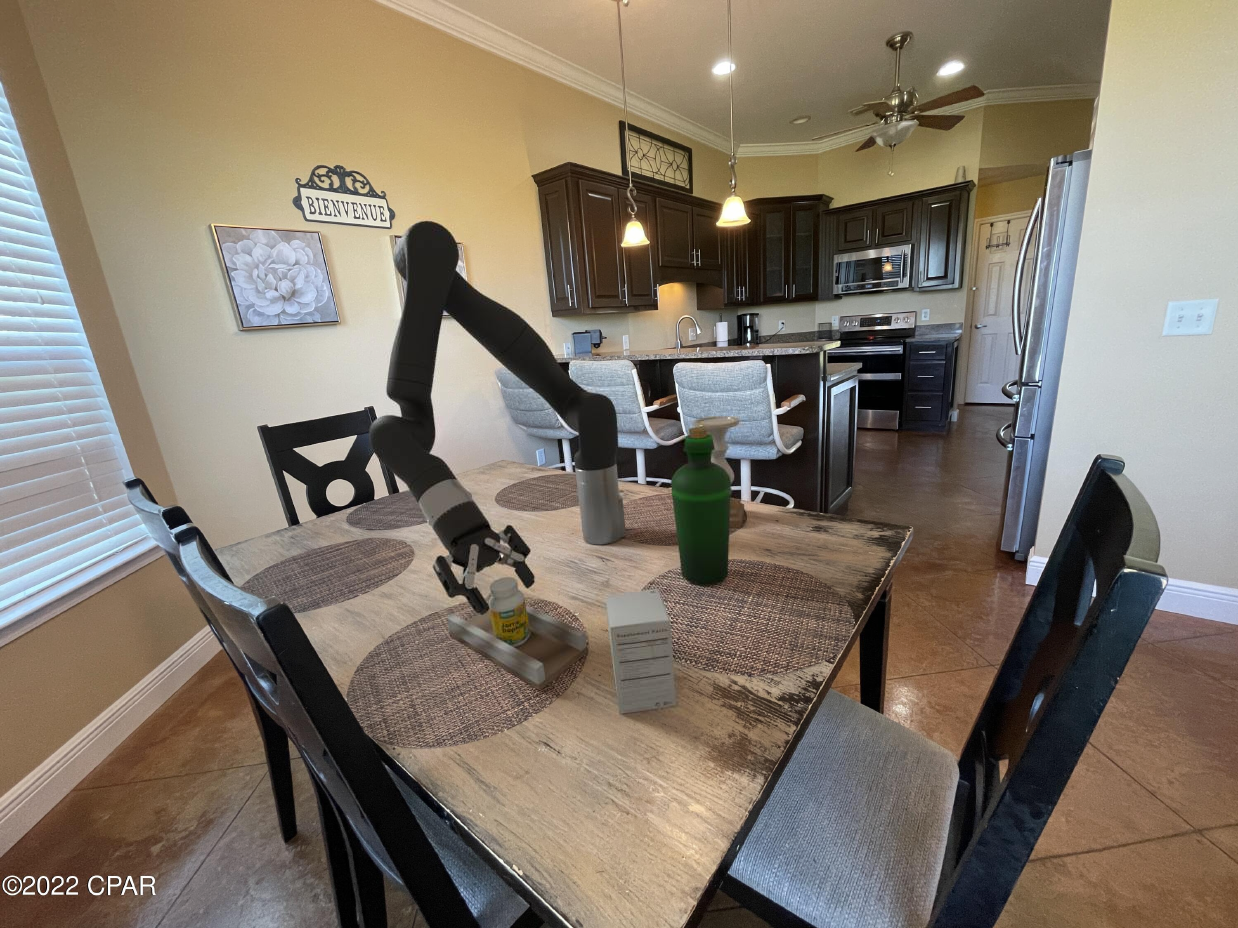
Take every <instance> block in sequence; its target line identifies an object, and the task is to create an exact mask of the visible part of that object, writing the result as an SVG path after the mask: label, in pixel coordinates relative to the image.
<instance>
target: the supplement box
mask: <svg viewBox="0 0 1238 928" xmlns="http://www.w3.org/2000/svg"><path fill="white" fill-rule="evenodd" d="M605 606H606V618H607V625H608V633H609V634H608V636H609V642H610V643H609V644H610V652H611V653H610V654H611V661H612V668H613V676H614V682H615V691H616V695H617V704H618V705H617V706H618V713H619V714H622V715H624V714H632V713H638V712H643V711H644V712H645V711H651V710H659V709H665V708H672V707H675V706H676V705H677V698H676V697H677V696H676V685H675V671H674V670H675V669H674V667H675V666H674V656H673V653H674V652H673V642H672V641H673V640H672V626H671V619H670V616H669V613H668V610H667V607H666V603H665V601H664V599H663V596H662V593H661V589H660V588H655V589H653V588H651V589H644V590H638V591H631V592H628V591H627V592H621V593H615V594H607V595H606V596H605Z"/></svg>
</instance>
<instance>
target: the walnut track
mask: <svg viewBox="0 0 1238 928" xmlns="http://www.w3.org/2000/svg"><path fill="white" fill-rule="evenodd" d="M491 597H492V595H491V592H489V593H488V599H489V600H490V598H491ZM526 610H527V616H528V621H529V627H530V636H529V638H528V639H527V641H526V642H525V643H523V644H522V645H520V646H517V647H512V646H510V645H508V644H506V643H505V642H503V641H501V640H499V639H497V638H496V637H495V635H494V630H493V625H492V619H491V614H490V609H489V610H488V611H487V613H485V614H484V615H481V614H480V613H476V615H474V616H473V617H471V618H469V619H468V620H467V619H466V620H465V619H463V618H462V617H459V616H457V615H455V614H454V613H452V614H450V615H448V616H446V623H447V627H448V632H449V637H451V638H452V639H454V640H456V641H457V642H458V643H461V644H462V645H464V646H466V648H469V649H470V650H472V651H474V652H475V653H477V654H479V655H480V656H481V657H483V658H485V659H487V660H488V661H490V662H492V663H493V664H495V665H497V666H498V667H500V668H501V669H503V670H505V671H507V672H508V673H510V674H511V675H513V676H515V677H516V678H518V679H520V680H521V681H523V682H525V683H526V684H528V685H529V686H531V687H532V688H535V689H536V690H538V691H539V692H540V691H542V690H543V689H544V688H545V687H547V686H548V685H549V684H550V683H551V682H553V681H554V680H555V679H556V678H558V677H559V676H560V675H562V673H564V672H565V671H567V669H569V668H571V666H573V665H574V664H575V663H576V662H578V661H579V660H580V659H581V658H582V657H584V656H585V655H586V654H588V647H587V637H586V632H585V631H584V630H581V629H579V628H577V627H575V626H573V625H570V624H569V623H566V622H563V621H561V620H560V619H557V618H556V617H553V616H551V615H548V614H546V613H544V612H542V611H540V610H539V609H536V608H533V607H531V606H529V605H526Z"/></svg>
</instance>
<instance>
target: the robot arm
mask: <svg viewBox="0 0 1238 928" xmlns="http://www.w3.org/2000/svg"><path fill="white" fill-rule="evenodd" d="M459 259H460V252H459V246H458V243H457V241H456V238H455V237H454V236H453V234H452V233H451V232H450V230H449V229H448V228H446V227H445V226H443V224H440V223H438V222H435V221H432V220H431V221H430V220H422V221H419V222H416V223H414V224H412V225H411V226H409V227H408V228H407V229H406V231H405V232H403V234H402V236H401V238H399V240H398V241H397V243H396V245H395V247H394V250H393V262H394V266H395V268H396V270H397V272H398V273H399V275H400V276H401V278H402V279H403V280H404V281H405V282H406V284H405V285H406V287H405V294H404V295H405V297H404V302H403V306H402V307H403V308H402V312H401V316H400V318H399V319H400V320H399V323H398V326H397V330H396V334H395V337H394V340H393V344H392V348H391V351H390V352H391V353H390V357H389V358H390V360H389V365H388V373H387V381H386V386H385V388H386V391H385V392H386V396H387V397H388V398H389V399H390V400H391V401H392V402H394V403H396V404H397V405H398V406H399V409H400V414H401V415H400V416H399V415H393V414H387V415H382V416H380V417H378V418H376V419H375V420H374V421H373V422H372V423H371V425H370V427H369V431H368V438H369V439H368V441H369V445H370V447H371V450H372V452H373V453H374V455H375V456H376V457H377V458H378V460H379V461H381V463H382V464H384V466H385V467H387V469H388V470H390V471H391V472H392V473H393V474H394V475H395V476H396V477H397V478H398V479H399V480H401V482H403V483H404V484H405V485H406V486H407V488H408V490H409V491H410V493H411V494H412V496H413V497H414V499H415V501H416V502H417V505H418V506H419V507H420V509H421V511H422V514H423V516H424V518H425V519H426V521H427V524H428V525H429V526H430V527H431V528H432V530H433V531H434V533H435V534H436V536H437V537H438V539H439V541H440V542H441V544H442V545H443V547H444V549H445V550H446V551H448V555H445V556H444V555H438V556H437V557H436V559H435V561H434V563H433V565H432V569H433V571H434V572H435V574H436V576H437V578H438V580H439V581H440V584H441V585H442V587H443V589H444V591H445V593H446V594H447V597H449V598H450V599H454V598H455V597H458V596H463V597H464V598H465V599H466V600H467V602H468V603H469V605H470V607H471V608H472V609H473V611H474V612H475V613H476V614H479V613H480V614H481V615H484V614H485V613H487V611H488V610H489V602H487V600H486V599H485V597H484V596H483V594H482V593H481V591H480V589H479V588H478V587H477V586H475V587H474V584H475V579H476V578H475V576H476V574H477V573H478V574H479V573H480V572H481V571H483V570H484V569H485V568H489V567H492V566H494V565H495V563H496V564H499V565H502V566H503V565H506V566H508V567H511V568H513V569H514V570H513V571H514V572H515V574H516V576H517V577H518V579H519V580H520V581H521V583H522V584H523V585H524V587H525V588H526V589H529V588H531V587H532V586H533V585H534V584H535V582H536V581H535V579H536V577H535V574H534V573H533V572H532V570H531V569H530V567H529V566H528V564H527V563H526V559H527V557H528V556H529V555H530V554H531V552H532V551H531V550H532V549H531V548H530V547H529V545H527V543H526V542H525V540H524V539H523V537H521V536H520V534H519V533H518V532H517V530H516V529H515V528H514V526H513V525H511V524H508V525H506V526H505V528H504V529H502V530H500V531H498V532H496V531H495V530H493V529H492V527H491V525H490V522H489V521H488V519H487V517H486V516H485V515H484V513H483V512H482V510H481V509H480V507H479V506H478V504H477V503H476V502H475V500H474V499H473V498H472V496H471V494H470V493H469V492H468V490H467V489H466V488H465V487H464V486H463V485H462V484H461V482H460V481H459V480H458V478H457V477H456V475H455V474H454V472H453V471H452V470H451V468H450V467H449V465H448V464H447V463H446V461H444V460H443V459H442V458H441V457H439V456H437V455H434V454H432V453H431V452H432V450H433V448H434V445H435V442H436V422H435V415H434V407H433V406H434V405H433V402H432V391H433V384H434V377H435V370H436V363H437V362H436V361H437V353H438V346H439V339H440V334H441V333H440V332H441V326H442V321H443V316H444V312H445V313H446V314H448V316H450V317H451V318H453V320H454V321H455V322H457V323H458V325H460V326H461V328H463V329H464V330H465V331H466V332H467V333H468V334H469V335H470V336H471V337H472V338H474V340H476V341H477V342H478V343H479V344H480V345H481V346H482V347H483V348H485V349H486V351H487V352H488V353H489V354H490V355H492V357H494V358H495V359H496V360H497V361H498V362H499V363H500V364H501V365H502V366H503V367H505V368H506V369H507V370H508V371H509V372H511V373H512V374H513V375H514V376H515V377H517V378H518V379H519V380H520V381H521V382H522V383H524V384H525V385H526V386H527V387H528V388H530V389H531V390H533V391H534V392H535V393H537V394H538V395H539V396H540V397H541V398H542V399H543V400H544V401H545V402H546V403H547V404H548V405H549V406H550V408H552V409H553V410H554V412H556V414H557V415H558V416H559V418H561V420H562V421H563V422H564V423H565V424H566V425H567V426H568V427H569V428H570V429H571V430H572V431H574V432H576V433H578V434H577V435H578V445H579V446H578V447H579V448H578V451H576V453H575V454H574V457H573V462H574V470H575V477H576V485H577V495H578V496H577V497H578V503H579V513H580V521H581V522H580V523H581V529H582V537H583V540H584V541H585V542H586V543H588V544H590V545H591V544H592V545H607V544H611V543H614V542H618V541H619V540H620V539H622V538H624V537H626V536H627V531H626V530H627V529H626V521H625V520H626V519H625V511H624V509H625V508H624V500H623V499H624V498H623V496H621V495H620V488H619V478H618V477H619V476H618V467H617V453H618V451H619V434H618V433H619V432H618V431H619V430H618V429H619V428H618V417H617V410H616V407H615V404H614V402H613V401H612V399H610V397H608V396H607V395H604V394H602V393H597V392H590V391H587V390H586V389H584V388H583V387H582V386H580V385H579V384H578V383H577V382H575V380H573V378H572V377H570V376H569V375H568V374H567V373H566V372H565V371H564V370H563V368H562V367H561V366H560V364H559V362H558V361H557V358H556V356H555V355H554V353H553V351H552V350H551V348H550V346H549V345H548V344H547V343H546V341H545V340H544V338H543V337H541V335H540V334H539V333H538V332H537V330H535V329H534V328H533V327H532V326H531V325H530V324H529V323H528V322H527V321H526V320H525V319H524V318H523V317H522V316H521V315H519V314H517V313H516V312H515V311H513V310H512V309H511V308H509V307H507V306H505V305H503V304H502V303H500V302H497V301H496V300H494V299H492V298H491V297H488V296H486V295H485V294H483V293H481V292H480V291H479V290H478V289H476V287H474V286H473V285H471V284H470V283H469V282H468V280H467V279H465V278H464V276H462V275H461V273H460V272H459V271H458V270H457V267H458V264H459V262H460V261H459ZM501 541H502V542H503V543H504V544H507V545H508V546H506V545H504V544H502V543H501ZM453 564H454V565H457V566H459V567H460V568H462V574H461V583H459V580H458V579H457V577H456V575H455V573H454V571H453V570H452V567H453Z"/></svg>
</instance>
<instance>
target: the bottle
mask: <svg viewBox="0 0 1238 928" xmlns="http://www.w3.org/2000/svg"><path fill="white" fill-rule="evenodd" d="M707 430H708V428H706V427H695V426H694V427H691V428H689V429H688V432H689V434H688V435H686V436H685V440H684V446H683V452H685V453H686V455H687V462H688V463H685V464H684V465H682V466H680V467H679V468H678V469H677V470H676V471H675V473H674V474H673V476H672V477H671V480H670V481H671V482H670V489H671V496H672V504H673V512H674V521H675V530H676V535H677V544H678V553H679V560H680V561H679V563H680V569H681V570H680V571H681V572H680V573H681V576H682V578H683V579H685V580H686V581H687V582H689V583H692V584H695V585H701V586H711V585H715V584H718V583H723V581H724V580H725V579H726V578H727V577H728V576H729V574H728V573H729V553H730V552H729V549H730V528H729V522H730V497H731V495H730V492H731V489H732V488H731V486H732V483H731V480H730V476H729V475H728V473H727V472H726V471H725V469H724V468H722V467H720V466H719V465H717V464H715V463H713V462H711V454H712V451H713V450H715V446H714V442H713V438H712V435H710V434H707Z"/></svg>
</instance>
